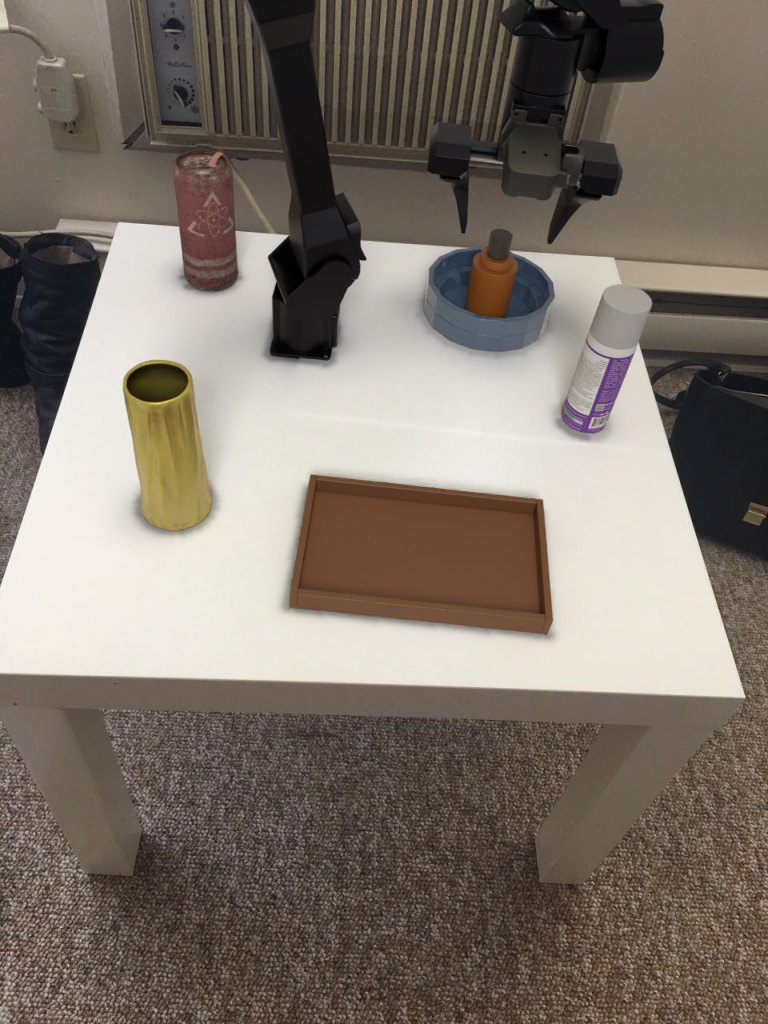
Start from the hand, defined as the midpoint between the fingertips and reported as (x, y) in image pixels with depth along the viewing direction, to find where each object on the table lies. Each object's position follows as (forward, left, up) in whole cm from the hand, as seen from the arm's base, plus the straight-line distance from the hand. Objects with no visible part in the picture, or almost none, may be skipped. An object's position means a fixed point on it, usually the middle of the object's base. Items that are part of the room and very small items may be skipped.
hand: (506, 236), depth 87 cm
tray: (-6, -36, -11) cm, 38 cm away
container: (+10, -16, -11) cm, 21 cm away
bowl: (0, +1, -11) cm, 11 cm away
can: (-32, +2, -11) cm, 34 cm away
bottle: (0, +1, -10) cm, 10 cm away
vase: (-28, -33, -11) cm, 45 cm away
